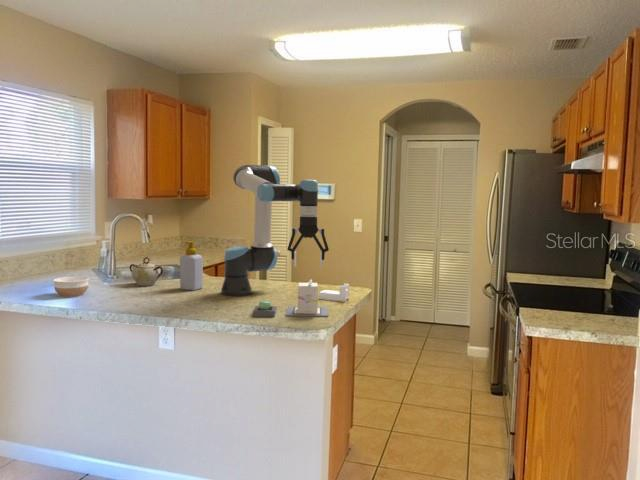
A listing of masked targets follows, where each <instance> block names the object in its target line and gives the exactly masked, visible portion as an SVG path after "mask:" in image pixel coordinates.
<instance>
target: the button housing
mask: <svg viewBox="0 0 640 480" xmlns="http://www.w3.org/2000/svg"><path fill="white" fill-rule="evenodd" d="M276 314H277V306H276V305H271V309H270V310H259V305H255V307H254V308H253V310H252V317H253V318H254V317H255V318H257V317H258V318H259V317H260V318H275V317H276Z"/></svg>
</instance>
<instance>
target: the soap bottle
mask: <svg viewBox="0 0 640 480" xmlns="http://www.w3.org/2000/svg"><path fill="white" fill-rule="evenodd" d="M185 244H188V248H186V249H185V254H183V255H181V256H180V258H179V277H180V278H179V279H180V280H179V284H180V285H179V288H180V290H184V291H197V290H200V289H203V287H204V286H203V285H204V283H203V275H204V274H203V266H204V265H203V255H200V254H198V251H197V249H196V248H195V246H194V245H195V241H194V240H188V241H185Z"/></svg>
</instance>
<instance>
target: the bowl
mask: <svg viewBox="0 0 640 480" xmlns="http://www.w3.org/2000/svg"><path fill="white" fill-rule="evenodd" d="M89 280H90V278H89V276H82V275H81V276H79V275H78V276H77V275H76V276H74V275H73V276H63V277H62V276H61V277H56V278H55V279H53V280H52V281H53V283H54V284H53V288H54V290H55V293H57V295H59V297H61V298H77V297H80V296H84V295H85V293H86V292H87V290H88V288H89Z"/></svg>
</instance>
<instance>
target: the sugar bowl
mask: <svg viewBox="0 0 640 480" xmlns="http://www.w3.org/2000/svg"><path fill="white" fill-rule="evenodd" d="M146 260H148V261H146ZM150 261H151V260H150V258H149V257H148V256H147V257H144V258H143V260H142V263H140V264H134V263H132V264H130V266H129V271H130V272H131V277H132V279H133V280H134V282H136V284H137V286H139V287H141V286H142V287H149V286H154V285H155V284H156V282H157V281H158V280H159V278H160V276H161V275H162V274H163V273H164V269H163V266H162V265H161V266H160V265H158V266H157V265H156V264H154V263H150Z"/></svg>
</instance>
